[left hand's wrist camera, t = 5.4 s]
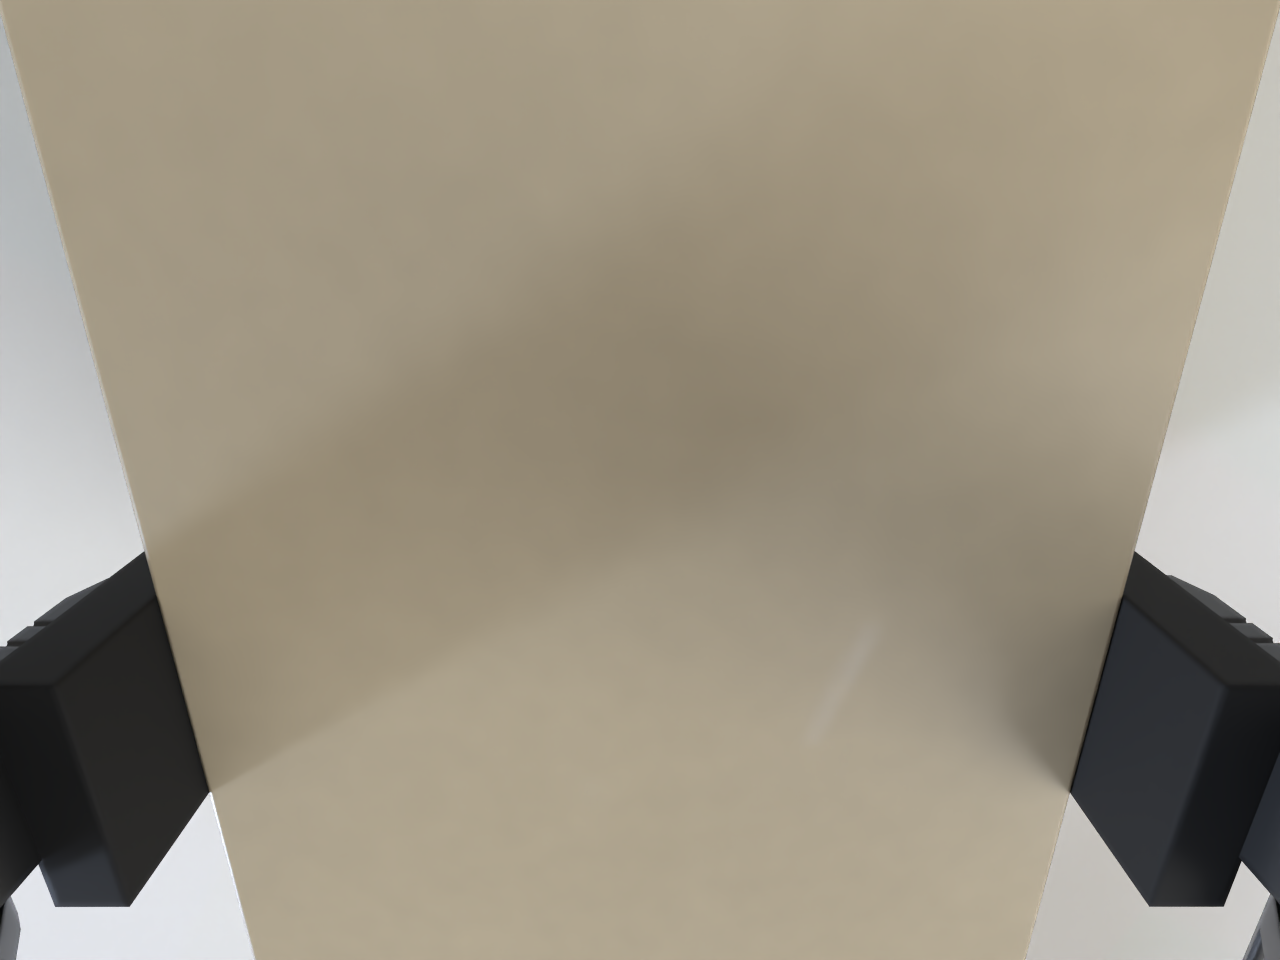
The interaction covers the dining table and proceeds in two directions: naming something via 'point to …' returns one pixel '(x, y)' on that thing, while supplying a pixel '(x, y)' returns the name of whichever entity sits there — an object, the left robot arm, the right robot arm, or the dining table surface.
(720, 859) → the cabinet
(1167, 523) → the dining table surface
